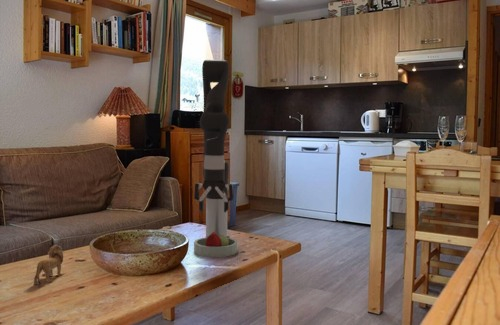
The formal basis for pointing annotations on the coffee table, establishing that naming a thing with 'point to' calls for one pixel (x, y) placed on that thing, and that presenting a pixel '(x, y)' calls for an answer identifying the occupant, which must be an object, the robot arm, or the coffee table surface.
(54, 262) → the lion figurine
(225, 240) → the lime
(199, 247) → the bowl
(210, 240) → the onion
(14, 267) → the coffee table surface
